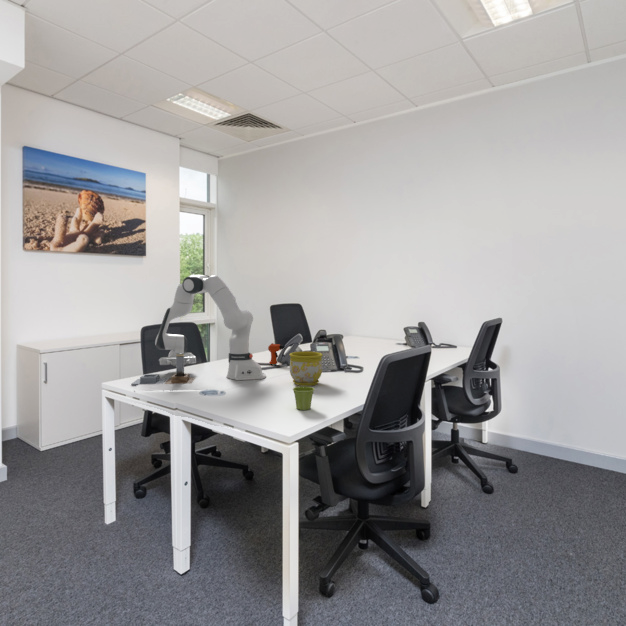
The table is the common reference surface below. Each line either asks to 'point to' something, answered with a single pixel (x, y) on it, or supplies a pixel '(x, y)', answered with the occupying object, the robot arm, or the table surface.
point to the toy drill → (274, 352)
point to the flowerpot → (306, 367)
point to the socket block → (180, 379)
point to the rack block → (149, 379)
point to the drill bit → (180, 364)
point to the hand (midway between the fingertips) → (178, 362)
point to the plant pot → (303, 397)
